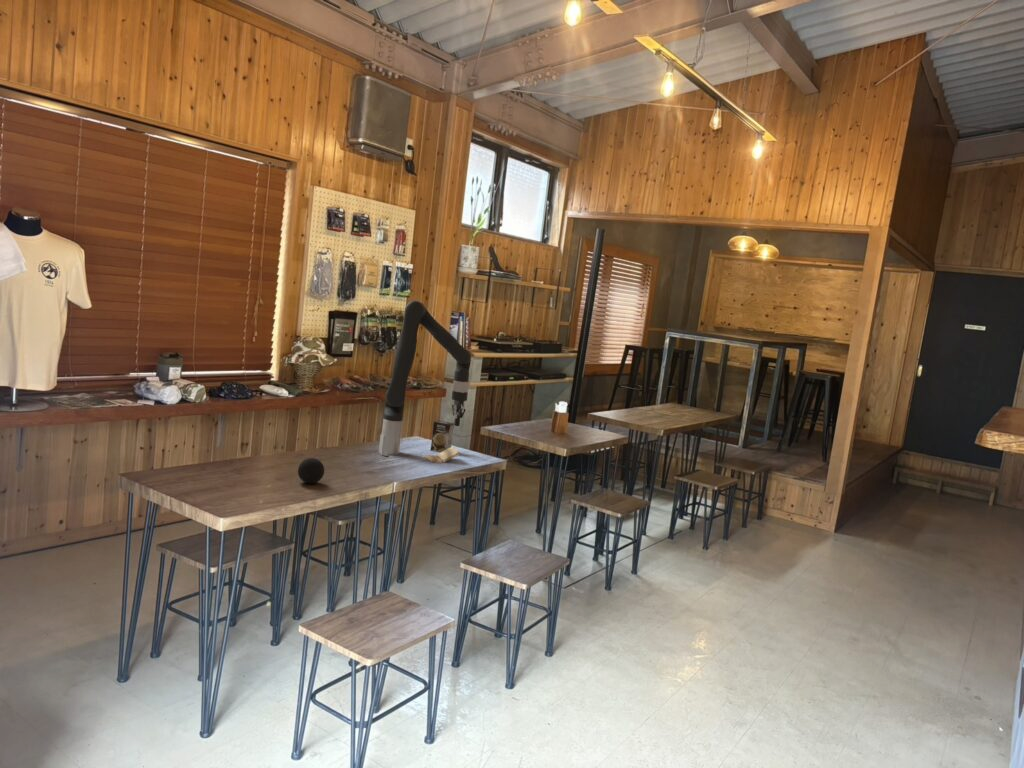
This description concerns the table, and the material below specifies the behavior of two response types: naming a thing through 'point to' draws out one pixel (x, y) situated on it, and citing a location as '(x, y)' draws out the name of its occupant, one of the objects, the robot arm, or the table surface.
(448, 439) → the coffee box
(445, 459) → the loose plank
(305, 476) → the speaker
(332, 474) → the table surface
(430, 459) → the plank
